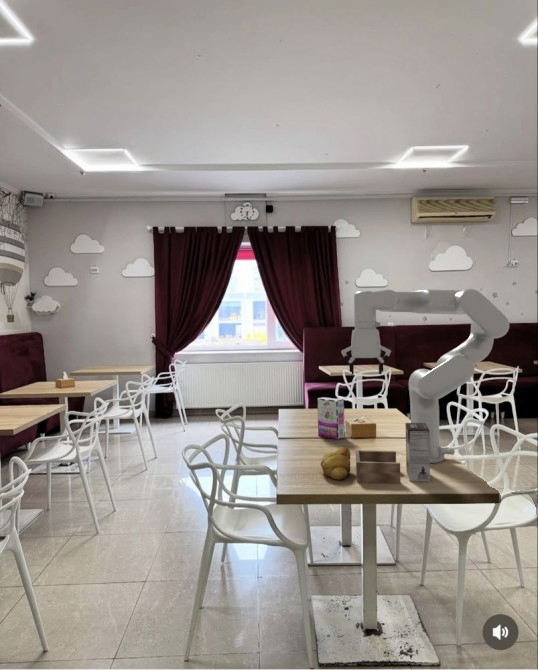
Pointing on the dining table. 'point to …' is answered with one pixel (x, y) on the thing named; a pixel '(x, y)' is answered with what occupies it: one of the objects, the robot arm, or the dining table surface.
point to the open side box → (377, 466)
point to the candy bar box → (331, 418)
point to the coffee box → (417, 451)
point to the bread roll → (337, 463)
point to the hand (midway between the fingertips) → (366, 374)
